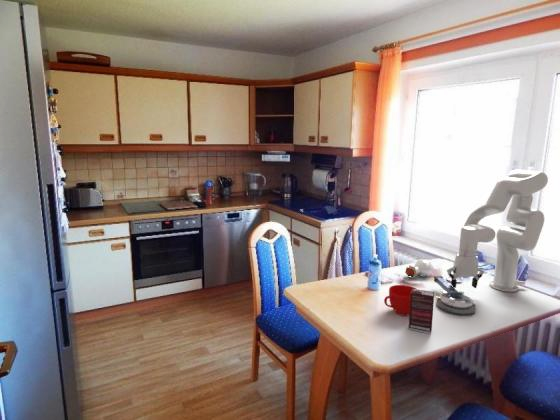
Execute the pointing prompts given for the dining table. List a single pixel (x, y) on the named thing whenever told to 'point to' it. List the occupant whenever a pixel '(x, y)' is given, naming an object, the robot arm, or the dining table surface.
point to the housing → (455, 311)
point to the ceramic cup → (400, 298)
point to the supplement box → (421, 310)
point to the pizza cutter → (453, 295)
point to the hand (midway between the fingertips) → (463, 286)
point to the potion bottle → (420, 268)
